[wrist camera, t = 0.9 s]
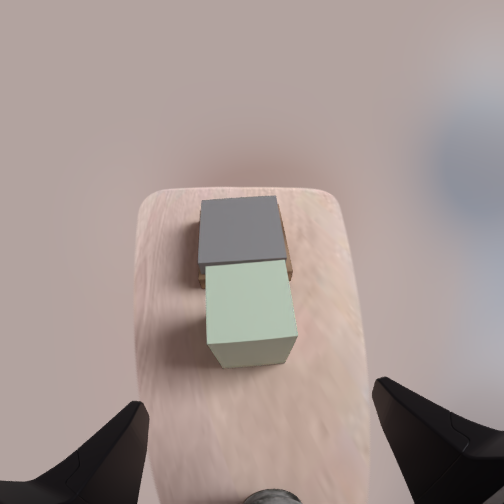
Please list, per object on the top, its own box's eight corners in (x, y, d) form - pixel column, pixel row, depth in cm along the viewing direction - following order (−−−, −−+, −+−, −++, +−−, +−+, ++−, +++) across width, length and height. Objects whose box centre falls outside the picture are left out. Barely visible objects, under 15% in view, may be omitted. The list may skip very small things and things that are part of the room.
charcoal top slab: (285, 269, 26) (286, 257, 25) (201, 274, 26) (197, 263, 24) (274, 208, 31) (275, 195, 29) (204, 212, 31) (201, 200, 29)
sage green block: (284, 362, 23) (298, 335, 16) (223, 368, 23) (206, 343, 16) (277, 307, 26) (284, 259, 19) (220, 312, 26) (205, 266, 19)
